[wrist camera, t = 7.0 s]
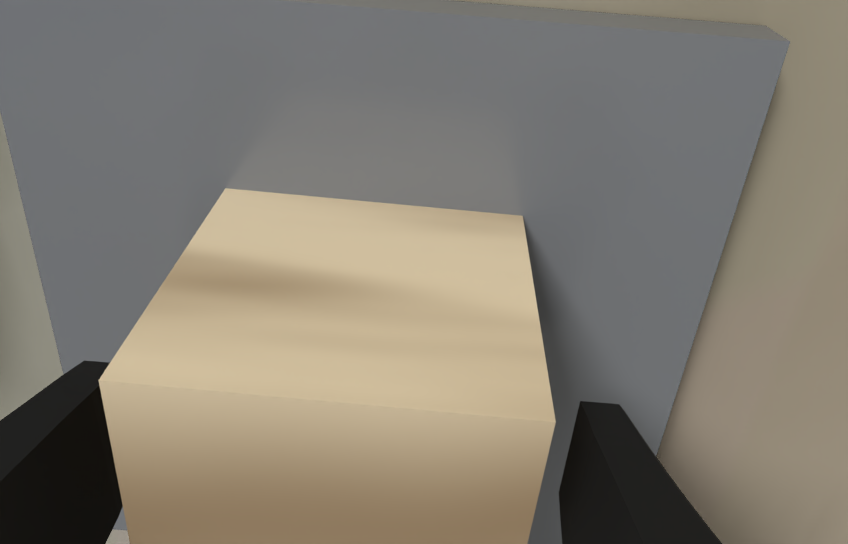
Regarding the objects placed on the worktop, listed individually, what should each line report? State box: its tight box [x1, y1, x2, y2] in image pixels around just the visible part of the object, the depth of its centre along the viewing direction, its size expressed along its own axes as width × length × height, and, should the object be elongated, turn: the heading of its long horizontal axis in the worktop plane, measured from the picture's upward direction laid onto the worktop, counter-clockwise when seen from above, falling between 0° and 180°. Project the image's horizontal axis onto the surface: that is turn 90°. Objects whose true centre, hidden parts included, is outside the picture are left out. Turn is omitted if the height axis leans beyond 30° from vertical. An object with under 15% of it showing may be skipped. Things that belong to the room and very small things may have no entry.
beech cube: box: [98, 188, 556, 544], centre depth 11 cm, size 5×5×5 cm
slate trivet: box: [0, 0, 790, 544], centre depth 14 cm, size 12×12×1 cm
